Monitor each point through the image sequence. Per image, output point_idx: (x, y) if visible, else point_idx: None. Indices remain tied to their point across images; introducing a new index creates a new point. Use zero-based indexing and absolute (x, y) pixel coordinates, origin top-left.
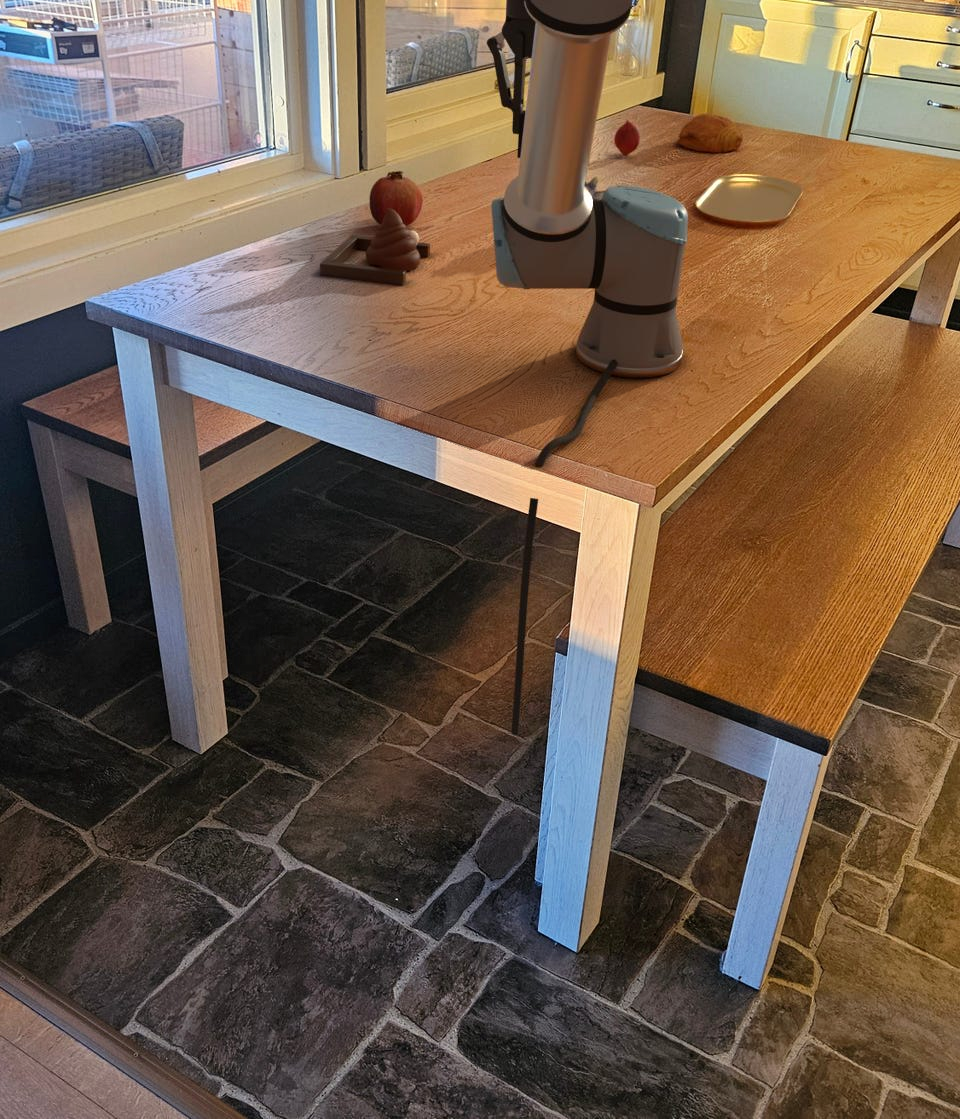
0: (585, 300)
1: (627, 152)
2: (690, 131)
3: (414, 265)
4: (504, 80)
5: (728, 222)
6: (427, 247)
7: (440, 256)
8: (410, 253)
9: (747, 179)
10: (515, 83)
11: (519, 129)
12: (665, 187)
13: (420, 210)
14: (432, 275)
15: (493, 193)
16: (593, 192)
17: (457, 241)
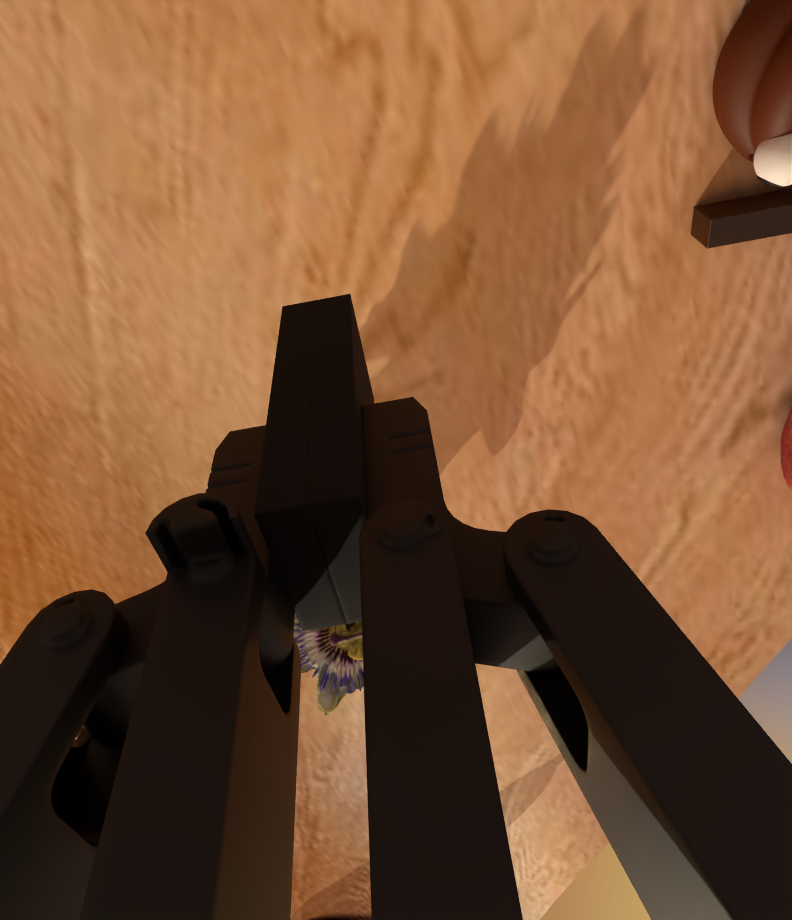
0: (26, 75)
1: None
2: None
3: (728, 39)
4: (679, 814)
5: (80, 731)
6: (710, 218)
7: (653, 239)
8: (767, 54)
9: None
10: (471, 807)
11: (347, 405)
12: (304, 811)
13: (782, 455)
14: (641, 31)
15: None
16: (310, 659)
17: (629, 382)
